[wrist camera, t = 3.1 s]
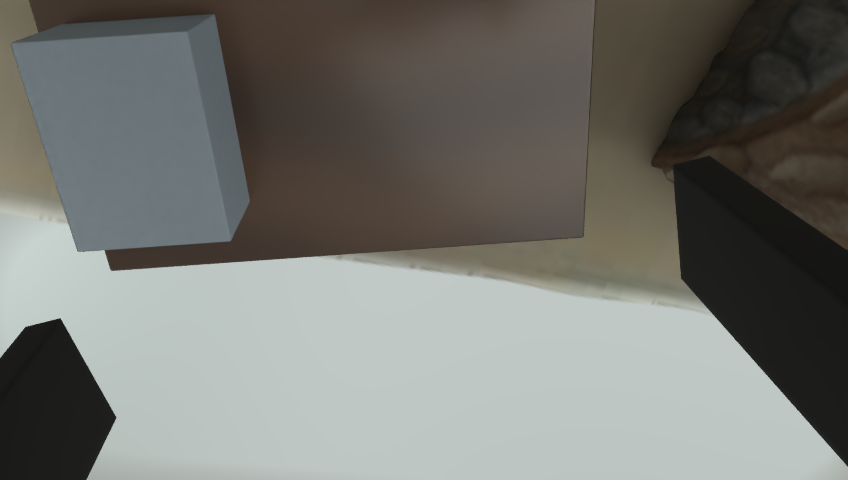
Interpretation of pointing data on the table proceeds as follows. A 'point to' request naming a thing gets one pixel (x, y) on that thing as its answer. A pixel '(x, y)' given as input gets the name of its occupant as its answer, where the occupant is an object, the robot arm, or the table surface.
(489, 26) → the dark brown small table
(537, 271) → the table surface
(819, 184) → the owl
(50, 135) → the plain gray rectangular block
